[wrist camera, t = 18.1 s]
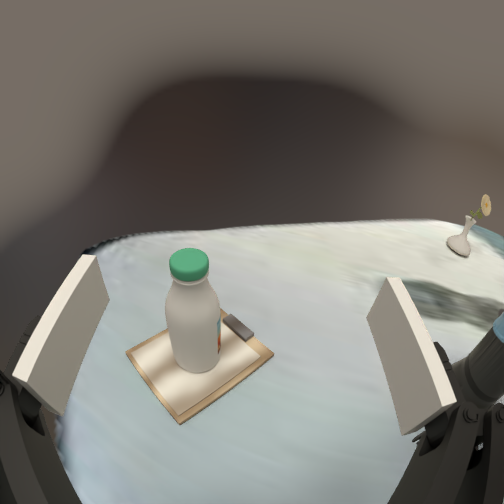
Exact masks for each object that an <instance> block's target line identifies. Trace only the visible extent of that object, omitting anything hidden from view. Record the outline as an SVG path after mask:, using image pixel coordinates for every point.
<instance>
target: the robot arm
mask: <svg viewBox="0 0 504 504" xmlns="http://www.w3.org/2000/svg"><path fill="white" fill-rule="evenodd" d="M109 300H110V299H109V296H108V293H107V290H106V287H105V284H104V281H103V277H102V274H101V271H100V267H99V264H98V260H97V257H96V256H93V255H82V256H81V258H80V259H79V261H78V262H77V263H76V265H75V266H74V268H73V269H72V271H71V272H70V273H69V275H68V276H67V278H66V279H65V281H64V282H63V284H62V285H61V287H60V289H59V290H58V292H57V293H56V295H55V296H54V298H53V299H52V301H51V303H50V304H49V306H48V308H47V309H46V311H45V313H44V314H43V316H42V317H40V316H37V317H35V318H34V319H33V320H32V321H31V322H30V323H29V325H28V326H27V328H26V330H25V332H24V335H23V336H22V337H21V339H20V341H19V343H18V345H17V346H16V348H15V350H14V352H13V354H12V356H11V358H10V361H9V362H8V365H7V367H6V369H5V371H4V372H2V371H1V370H0V504H82V503H81V501H80V499H79V497H78V496H77V494H76V492H75V490H74V488H73V486H72V484H71V482H70V480H69V478H68V476H67V474H66V472H65V470H64V468H63V465H62V463H61V461H60V459H59V456H58V454H57V451H56V449H55V446H54V444H53V441H52V439H51V436H50V433H49V430H48V428H47V425H46V422H45V419H44V415H43V413H42V411H41V409H40V407H41V405H43V406H44V407H45V408H46V409H47V410H49V411H51V412H53V413H56V414H58V415H61V416H63V415H64V412H65V408H66V405H67V402H68V399H69V396H70V394H71V391H72V388H73V385H74V382H75V380H76V377H77V374H78V372H79V369H80V366H81V364H82V361H83V359H84V356H85V354H86V351H87V349H88V347H89V344H90V342H91V340H92V337H93V335H94V333H95V330H96V328H97V326H98V324H99V322H100V319H101V317H102V315H103V313H104V311H105V309H106V307H107V305H108V302H109ZM366 318H367V321H368V324H369V326H370V329H371V332H372V335H373V338H374V341H375V344H376V347H377V350H378V353H379V356H380V359H381V362H382V365H383V368H384V372H385V375H386V378H387V382H388V385H389V389H390V392H391V396H392V399H393V403H394V407H395V410H396V414H397V418H398V422H399V426H400V430H401V434H402V436H403V435H406V434H410V433H413V432H416V431H418V430H419V429H421V428H422V427H424V426H425V431H424V432H422V433H421V434H419V435H418V436H416V437H415V438H414V439H413V440H412V442H415V441H417V440H419V439H420V440H419V441H418V442H417V443H416V444H418V445H417V448H416V450H415V452H414V454H413V456H412V459H411V461H410V463H409V465H408V467H407V469H406V471H405V473H404V475H403V477H402V479H401V481H400V482H399V484H398V486H397V488H396V490H395V491H394V493H393V495H392V497H391V498H390V500H389V502H388V503H387V504H502V503H503V498H504V405H503V404H501V403H497V404H495V402H496V401H497V400H498V399H499V398H500V397H501V396H503V395H504V312H503V313H502V314H501V316H500V317H499V318H497V319H496V320H495V322H494V324H493V327H492V328H491V329H490V330H489V332H488V333H487V334H486V335H485V337H484V338H483V339H482V340H481V341H480V342H479V344H478V345H477V346H476V347H475V348H474V349H473V350H472V352H471V353H470V354H469V355H468V356H467V357H465V358H463V359H462V360H460V361H458V362H456V363H454V364H452V365H451V363H449V359H448V357H447V354H446V352H445V350H444V349H443V348H442V347H441V345H440V344H439V343H438V342H432V340H431V337H430V335H429V333H428V331H427V329H426V327H425V325H424V323H423V321H422V319H421V317H420V315H419V313H418V311H417V309H416V307H415V305H414V303H413V301H412V299H411V297H410V296H409V294H408V292H407V290H406V288H405V286H404V285H403V283H402V281H401V279H400V278H397V277H386V279H385V281H384V283H383V286H382V288H381V290H380V292H379V294H378V296H377V298H376V300H375V302H374V304H373V306H372V308H371V310H370V312H369V313H368V315H367V317H366ZM494 404H495V405H494ZM493 405H494V406H493ZM481 443H483V448H482V449H480V450H478V445H479V444H481Z"/></svg>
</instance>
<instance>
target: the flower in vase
mask: <svg viewBox="0 0 504 504" xmlns="http://www.w3.org/2000/svg"><path fill="white" fill-rule="evenodd" d="M490 204H491V202H490V201H489V196H487V194H486V195H484V196H483V198H482V204H481V208H482V212H483V213H484V214H485V216H487V214H488V215H489V214H490V211H491V205H490ZM481 208H480V209H481ZM480 209H479V210H480ZM479 210H478V211H479ZM478 211H477V212H476V214H477V216H478V218H479V219H480V218H482V214H481V212H478ZM470 213H471V214H472V215H473V217H474V216H475V215H476V214H474V213H473V211H472V210H471V211H470ZM473 217H472V218H471V217H470V216H466V224H465V227H464V230H463V232H462V233H461V234H460V235H455V236H451V237H449V238H448V239H447V243H448V245H449V246H450V247H451V249H453V250H454V251H455V252H457V253H458V254H460V255H464V256H468V255H470V247H469V244H468V241H467V234H468V232H469V230H470V228H471V226H472V225H473V224H475V223H476V221H475V220H474V219H473Z"/></svg>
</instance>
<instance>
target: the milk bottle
mask: <svg viewBox="0 0 504 504" xmlns="http://www.w3.org/2000/svg"><path fill="white" fill-rule="evenodd" d="M169 265H170V271H171V277H172V279H173V283H172V286H171V288H170V290H169V292H168V295H167V298H166V303H165V315H166V322H167V327H168V332H169V337H170V341H171V346H172V350H173V354H174V357H175V360H176V362H177V363H178V365H179V366H180V367H182V368H183V369H185V370H187V371H190V372H194V373H201V372H205V371H208V370H210V369H211V368H213V367H214V366H215V365H216V364H217V362H218V361H219V358H220V352H221V314H220V304H219V300H218V297H217V295H216V293H215V291H214V289H213V288H212V287H211V285H210V283H209V281H208V279H207V277H208V274H209V270H208V269H209V260H208V257H207V255H206V254H205V253H204V252H203V251H201V250H198V249H194V248H185V249H181V250H179V251H177V252H175V253H174V254H173V255H172V256H171V258H170V261H169Z"/></svg>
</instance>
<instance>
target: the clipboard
mask: <svg viewBox="0 0 504 504" xmlns="http://www.w3.org/2000/svg"><path fill="white" fill-rule="evenodd" d="M220 314H221V352H220V358H219V361H218V362H217V364H216V365H215V366H214V367H213V368H211V369H210V370H208V371H205V372H201V373H194V372H190V371H187V370H185V369H183V368H182V367H180V366H179V365H178V363H177V362H176V360H175V357H174V354H173V350H172V346H171V341H170V337H169V332H168V328H167V329H166V330H164V331H162V332H160V333H158V334H157V335H155V336H153V337H151V338H149V339H148V340H146V341H144V342H142V343H140V344H138V345H137V346H135V347H133V348H131V349H129V350H127V351H126V355H127V356H128V358H129V359H130V361H131V362H132V364H133V365H134V366H135V368H136V369H137V371H138V372H139V374H140V375H141V376H142V378H143V379H144V381H145V382H146V383H147V385H148V386H149V387H150V389H151V390H152V391H153V393H154V394H155V395H156V397H157V398H158V399H159V401H160V402H161V403H162V404H163V406H164V407H165V408H166V409H167V410H168V412H169V413H170V414H171V415H172V417H173V418H174V419H175V420H176V421H177V422H178V424H179V425H181V424H182V423H184V422H186V421H187V420H189V419H190V418H191V417H193V416H194V415H196V414H197V413H199V412H200V411H202V410H203V409H205V408H206V407H207V406H209V405H210V404H212V403H213V402H214V401H216V400H217V399H219V398H220V397H221V396H223V395H224V394H225V393H227V392H228V391H230V390H231V389H232V388H234V387H235V386H236V385H237V384H239V383H240V382H241V381H243V380H244V379H245V378H247V377H248V376H249V375H250V374H252V373H253V372H254V371H255V370H257V369H258V368H259V367H261V366H262V365H263V364H264V363H265V362H267V361H268V360H269V359H270V358H272V357H273V356H274V353H273V352H272V351H271V350H269V349H268V348H267V347H266V346H264V345H263V344H262V343H261V342H260V341H258V340H257V339H256V338H255V337H254V333H253V332H252V331H251V330H250V329H249V328H247V327H246V326H245V325H244V324H243V323H241V322H240V321H239V320H238V319H237V318H236V317H234V316H233V315H232V314H230V315H228V314H227V313H225V312H224V311H223V310H222V309H221V308H220Z"/></svg>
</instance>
